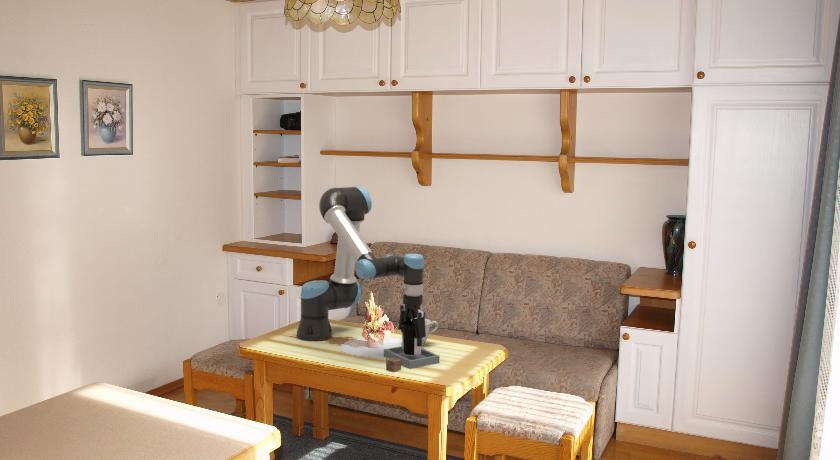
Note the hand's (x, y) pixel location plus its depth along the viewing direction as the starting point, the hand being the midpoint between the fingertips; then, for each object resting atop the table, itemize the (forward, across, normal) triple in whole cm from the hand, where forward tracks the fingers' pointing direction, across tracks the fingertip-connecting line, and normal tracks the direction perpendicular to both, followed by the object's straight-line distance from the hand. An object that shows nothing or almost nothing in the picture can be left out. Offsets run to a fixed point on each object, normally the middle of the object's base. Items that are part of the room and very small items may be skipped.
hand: (411, 351), depth 300 cm
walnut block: (+3, +7, -13) cm, 15 cm away
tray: (+3, 0, 0) cm, 3 cm away
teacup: (+4, -15, +15) cm, 21 cm away
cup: (+1, 0, 0) cm, 1 cm away
